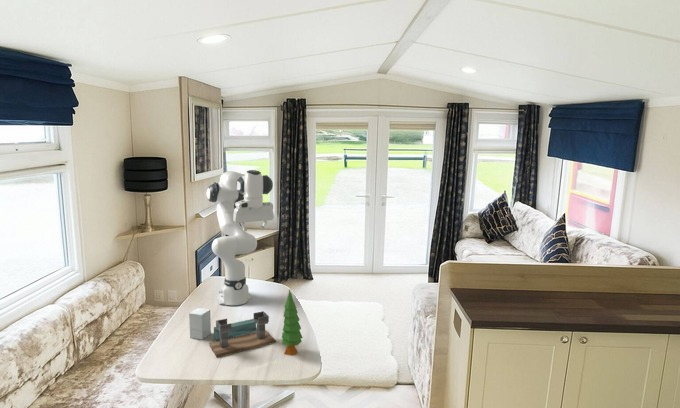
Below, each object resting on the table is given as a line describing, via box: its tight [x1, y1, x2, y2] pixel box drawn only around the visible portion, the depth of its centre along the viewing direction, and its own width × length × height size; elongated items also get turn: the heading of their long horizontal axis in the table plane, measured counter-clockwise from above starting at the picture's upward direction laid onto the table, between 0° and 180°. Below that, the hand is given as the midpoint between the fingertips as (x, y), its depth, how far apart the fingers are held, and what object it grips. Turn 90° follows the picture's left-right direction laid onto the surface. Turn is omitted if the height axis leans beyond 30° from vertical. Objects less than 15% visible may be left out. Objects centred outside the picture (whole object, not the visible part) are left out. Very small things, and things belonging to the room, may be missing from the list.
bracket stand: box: [208, 310, 276, 358], centre depth 194 cm, size 12×28×13 cm, turn 122°
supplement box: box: [188, 307, 212, 341], centre depth 202 cm, size 7×7×13 cm
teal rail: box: [213, 318, 257, 342], centre depth 204 cm, size 4×20×6 cm, turn 123°
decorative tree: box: [281, 289, 303, 356], centre depth 187 cm, size 10×9×30 cm
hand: (253, 230), depth 209 cm, fingers open, 8 cm apart
